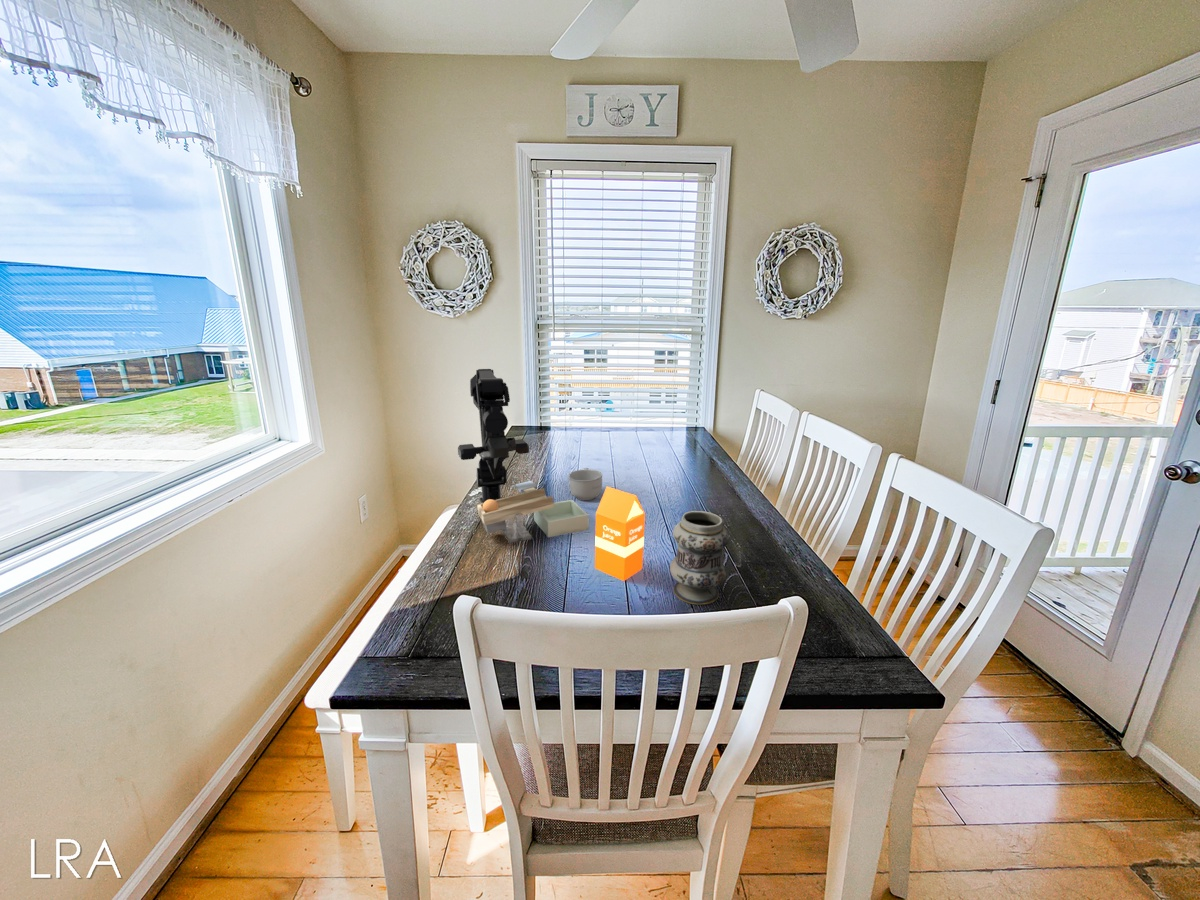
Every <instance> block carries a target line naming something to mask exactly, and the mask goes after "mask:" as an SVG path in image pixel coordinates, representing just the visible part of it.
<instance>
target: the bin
mask: <svg viewBox="0 0 1200 900" xmlns="http://www.w3.org/2000/svg"><path fill="white" fill-rule="evenodd" d="M553 504H554V507H552V508H548V509H545V510H541V511H537V512H533V521H534V522H535V523H536V525H537V526H538V527H539V528H540V529H541V530H542V532H543V533H544V534H545V535H546V537H547V538H553V537H557V535H558V536H562V535H563V534H564V535H568V533H569V534H573V533H574V534H575V533H579V532H585V531H589V528H590V527H589V525H590V521H589V519H590V518H589V517H590V514H588V513H587V512H586V511H585V510H584V509H583V508H582V507H581V506H580V505H579V504H577V503H576V502H575V501H574V500H573V499H569V500H568V499H567V500H562V501H561V500H560V501H555V502H553ZM552 536H553V537H552Z"/></svg>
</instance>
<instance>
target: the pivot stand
mask: <svg viewBox="0 0 1200 900" xmlns="http://www.w3.org/2000/svg"><path fill="white" fill-rule="evenodd" d="M523 516H524V515H523V514H522V513H519V514H516V517H515V521H514V518H511V519H507V520H506V529H505V530H501V533H502V534H503V535H504V537H505V539H506V540H507V543H509V544H512V543H517V542H523V541H528V540H532V535H531V534H530V532H529V531H528V529H527V528H526V527H525V526H524V521H523V519H524V517H523Z"/></svg>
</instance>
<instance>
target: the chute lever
mask: <svg viewBox="0 0 1200 900" xmlns="http://www.w3.org/2000/svg"><path fill="white" fill-rule="evenodd" d="M515 488H516V489H517V490H518V492H519V493H517V494H514V495H510V496H505V497H501V499H497V500H495V501H496V502H497V504H498V510H495V511H491V512H487V513H485V511H484V510H483V504H484V503H478V504H476V507H477V508H476V509H477V513H478V514H477V515H478V516H479V518H480V519H481V523H482V526H483V528H484V530H485V532H486V534H487V535H489V534H493V533H497V532H500V531H501V530H505V529H506V523H507V519H511V518H513V519H514V518H515V519H516V514H519V513H522V514H523V516H525V515H530V514H534V512H537V511H541V510H545V509H548V508H552V507H554V504H553V503H554V497H553V496H552V495H550V496H547V495H546V489H545V488H544V487H541V488H538V486H537V484H536V483H535V482H533V480H528V481H524V482H519V483H516V484H515ZM501 532H502V531H501Z"/></svg>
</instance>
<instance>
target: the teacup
mask: <svg viewBox="0 0 1200 900" xmlns="http://www.w3.org/2000/svg"><path fill="white" fill-rule="evenodd" d="M568 479H569V480H568V481H569V489H570V493H571V495H572V496H573V497H575V498H576V499H577V500H580V501H591V500H594V499H596V498H597V497H598V496H599V495H600V494H601V493H602V489H603V472H601V471H599V470H596V469H589V467H585V468H583V469H578V470H574V471H572V472H570V473H569V474H568Z"/></svg>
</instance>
